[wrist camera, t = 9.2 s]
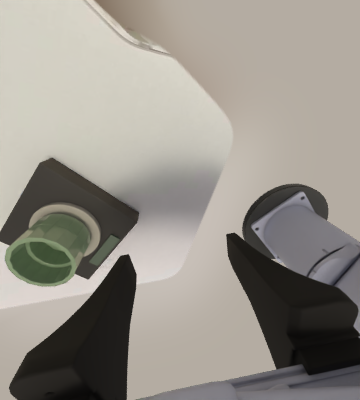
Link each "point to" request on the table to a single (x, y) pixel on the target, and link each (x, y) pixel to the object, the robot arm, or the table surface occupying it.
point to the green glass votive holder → (49, 250)
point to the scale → (71, 211)
